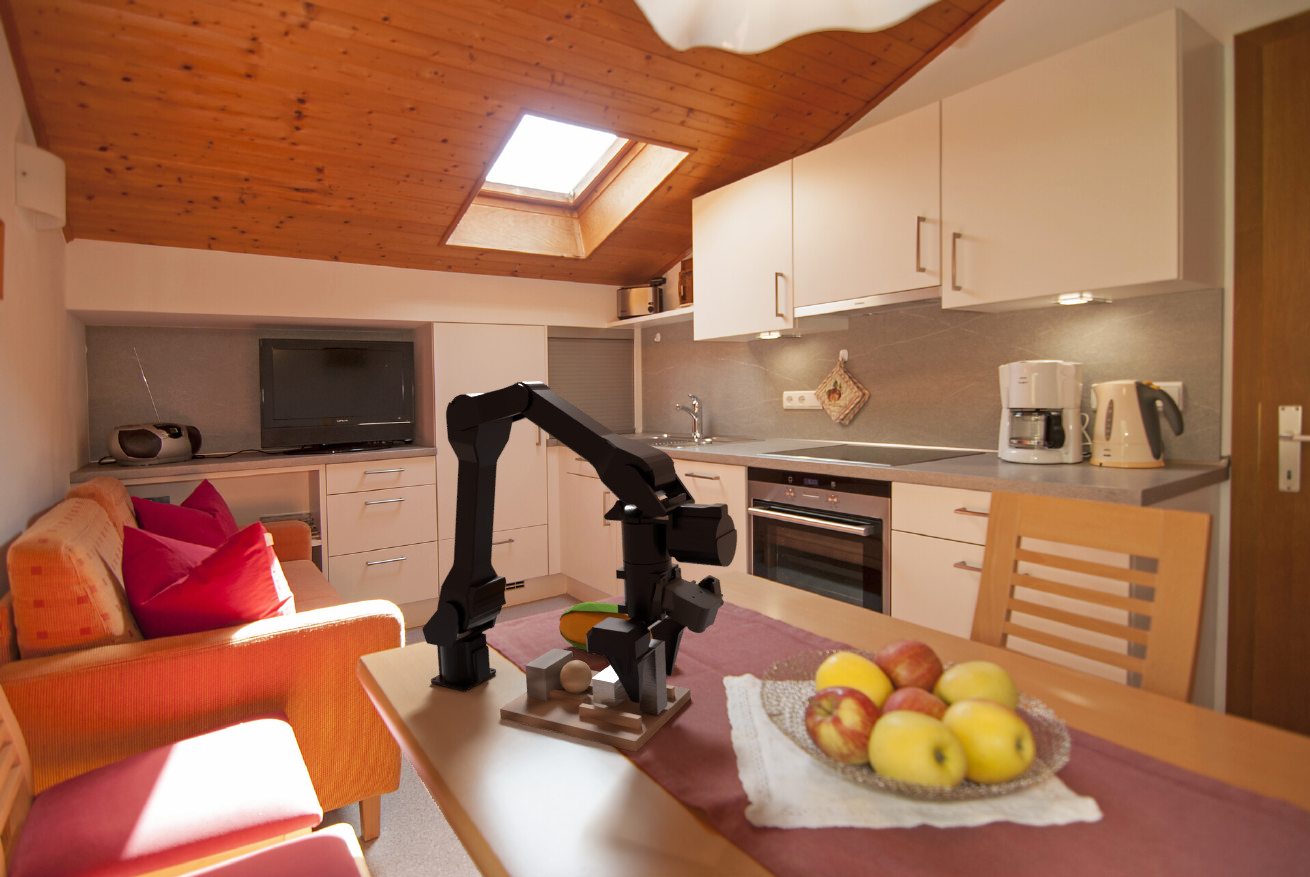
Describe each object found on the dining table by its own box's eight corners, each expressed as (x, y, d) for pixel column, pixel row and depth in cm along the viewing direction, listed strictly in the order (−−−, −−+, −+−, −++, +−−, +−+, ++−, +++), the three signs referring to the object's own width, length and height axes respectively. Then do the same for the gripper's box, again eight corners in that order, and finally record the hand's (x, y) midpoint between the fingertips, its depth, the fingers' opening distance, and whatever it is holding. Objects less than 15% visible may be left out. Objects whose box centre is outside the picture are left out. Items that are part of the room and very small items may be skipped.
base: (500, 718, 86) (498, 676, 85) (567, 673, 98) (565, 636, 97) (636, 751, 77) (633, 704, 76) (690, 698, 89) (689, 657, 88)
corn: (573, 588, 112) (687, 602, 103) (577, 634, 113) (690, 651, 104) (546, 606, 105) (665, 622, 96) (550, 653, 107) (669, 674, 97)
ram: (593, 709, 84) (590, 643, 83) (619, 688, 89) (616, 627, 88) (650, 721, 80) (647, 653, 79) (673, 699, 85) (671, 635, 85)
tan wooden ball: (554, 695, 88) (552, 664, 87) (572, 682, 91) (571, 653, 91) (581, 701, 86) (579, 669, 85) (598, 688, 89) (597, 657, 89)
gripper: (673, 588, 70) (679, 738, 71) (741, 545, 86) (745, 668, 87) (580, 577, 75) (587, 717, 76) (660, 539, 91) (665, 655, 93)
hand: (652, 687), depth 83 cm, fingers open, 8 cm apart
